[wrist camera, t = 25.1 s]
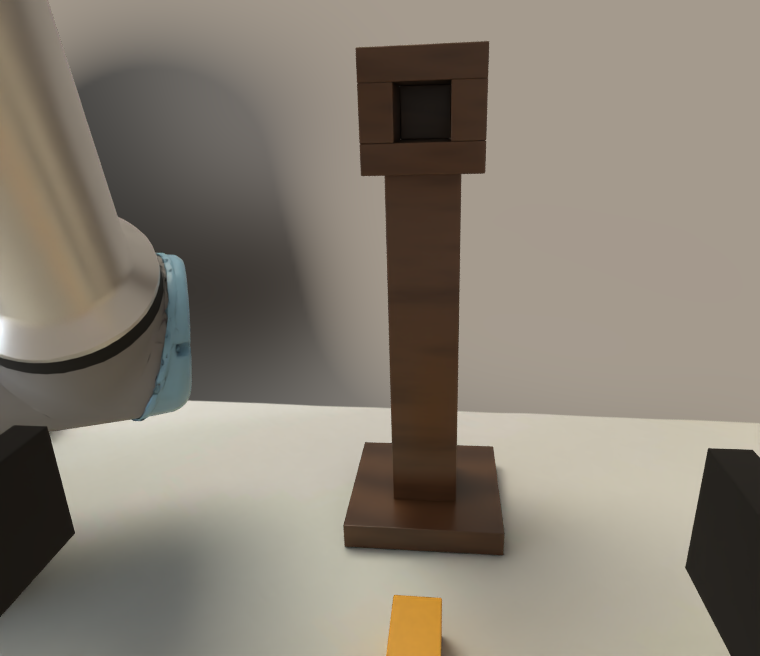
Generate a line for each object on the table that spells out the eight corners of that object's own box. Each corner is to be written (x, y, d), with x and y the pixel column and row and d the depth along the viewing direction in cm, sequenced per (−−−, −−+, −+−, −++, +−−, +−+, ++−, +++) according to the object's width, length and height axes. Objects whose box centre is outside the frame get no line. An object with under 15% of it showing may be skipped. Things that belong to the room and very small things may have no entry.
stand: (365, 460, 56) (347, 61, 44) (492, 464, 54) (509, 54, 42) (344, 546, 44) (312, 43, 33) (503, 555, 43) (530, 32, 31)
